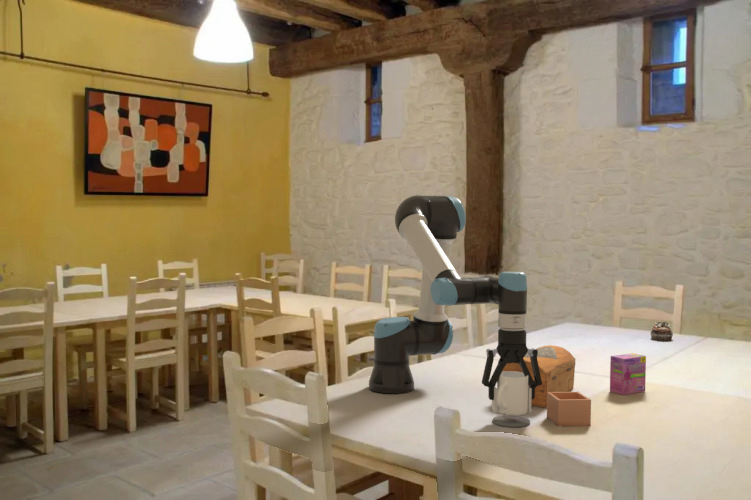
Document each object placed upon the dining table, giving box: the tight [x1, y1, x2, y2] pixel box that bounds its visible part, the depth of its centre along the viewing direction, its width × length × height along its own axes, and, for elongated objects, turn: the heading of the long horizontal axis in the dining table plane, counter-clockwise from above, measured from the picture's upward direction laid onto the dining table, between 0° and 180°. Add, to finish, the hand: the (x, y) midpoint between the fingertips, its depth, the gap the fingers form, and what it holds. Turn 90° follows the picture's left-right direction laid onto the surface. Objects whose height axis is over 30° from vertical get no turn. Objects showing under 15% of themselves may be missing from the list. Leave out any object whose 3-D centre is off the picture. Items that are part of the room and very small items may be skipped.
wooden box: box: [502, 344, 576, 408], centre depth 219 cm, size 30×16×14 cm, turn 147°
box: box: [609, 352, 647, 396], centre depth 223 cm, size 10×6×12 cm, turn 117°
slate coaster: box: [492, 414, 531, 429], centre depth 187 cm, size 10×10×1 cm
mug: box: [496, 371, 528, 416], centre depth 186 cm, size 12×8×10 cm
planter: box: [546, 391, 592, 427], centre depth 188 cm, size 9×9×7 cm
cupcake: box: [650, 321, 674, 342], centre depth 317 cm, size 10×10×10 cm
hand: (511, 411), depth 187 cm, fingers closed on mug, 9 cm apart
